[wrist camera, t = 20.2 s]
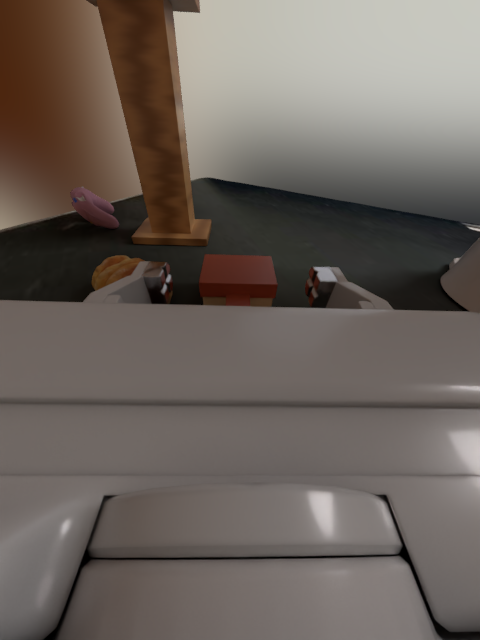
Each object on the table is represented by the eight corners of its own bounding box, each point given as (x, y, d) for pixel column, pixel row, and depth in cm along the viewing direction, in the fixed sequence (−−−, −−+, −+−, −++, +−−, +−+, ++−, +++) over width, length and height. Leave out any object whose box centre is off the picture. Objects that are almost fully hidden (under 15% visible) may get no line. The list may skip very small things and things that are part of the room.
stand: (211, 226, 43) (198, -10, 25) (207, 246, 37) (185, -50, 19) (148, 224, 42) (89, -17, 24) (133, 244, 36) (39, -59, 18)
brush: (267, 282, 30) (271, 256, 27) (288, 401, 18) (298, 375, 15) (207, 280, 29) (204, 254, 27) (186, 401, 17) (178, 374, 15)
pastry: (188, 298, 26) (184, 270, 24) (141, 331, 22) (129, 302, 20) (139, 272, 30) (130, 245, 28) (90, 296, 26) (74, 268, 24)
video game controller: (98, 222, 46) (65, 189, 41) (116, 209, 46) (85, 175, 41) (101, 241, 40) (63, 205, 34) (122, 226, 40) (86, 188, 34)
